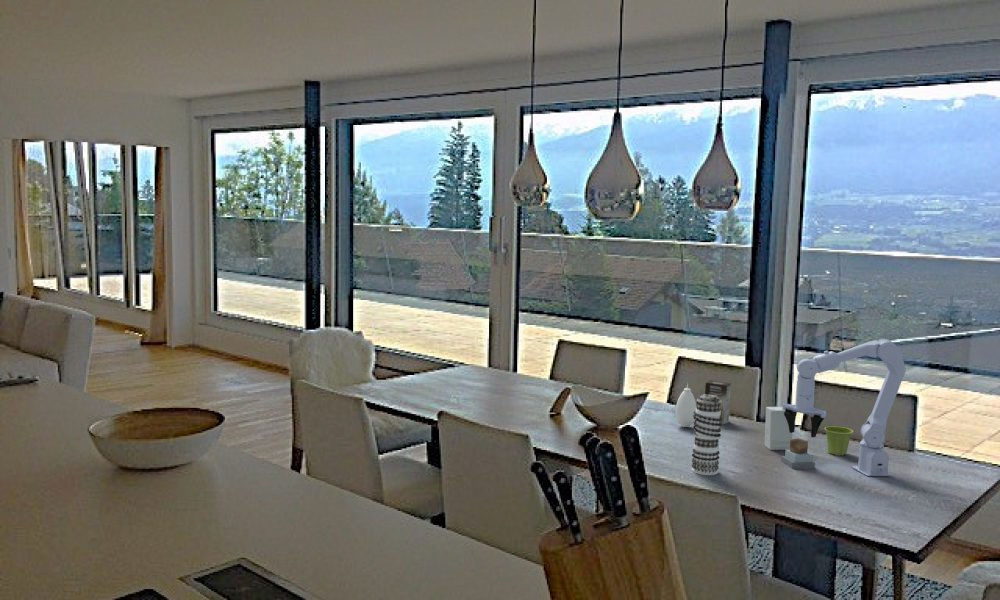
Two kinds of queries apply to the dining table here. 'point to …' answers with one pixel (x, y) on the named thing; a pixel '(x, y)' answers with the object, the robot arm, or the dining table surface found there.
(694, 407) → the sauce bottle
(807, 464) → the base slab
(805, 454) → the top slab
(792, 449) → the walnut cube
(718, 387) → the coffee box
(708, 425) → the decorative candle
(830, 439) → the plant pot
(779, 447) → the skincare box
